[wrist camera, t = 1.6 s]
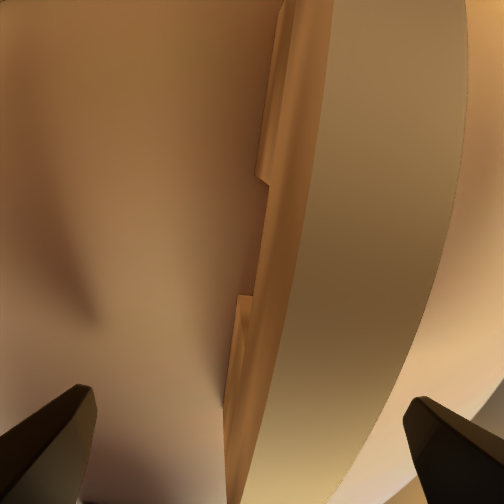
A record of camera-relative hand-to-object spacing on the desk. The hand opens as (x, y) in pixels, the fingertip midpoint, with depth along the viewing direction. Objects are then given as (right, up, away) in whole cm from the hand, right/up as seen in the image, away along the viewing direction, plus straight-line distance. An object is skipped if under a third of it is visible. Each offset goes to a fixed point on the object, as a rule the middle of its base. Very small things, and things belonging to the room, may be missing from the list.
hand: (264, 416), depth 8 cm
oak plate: (0, +4, +1) cm, 5 cm away
